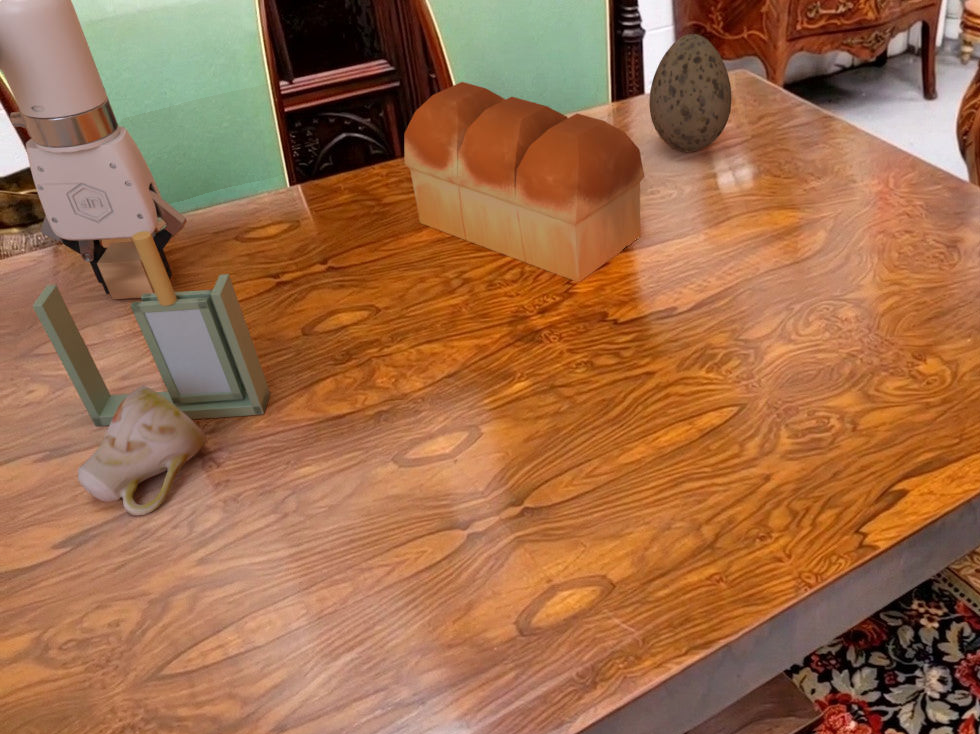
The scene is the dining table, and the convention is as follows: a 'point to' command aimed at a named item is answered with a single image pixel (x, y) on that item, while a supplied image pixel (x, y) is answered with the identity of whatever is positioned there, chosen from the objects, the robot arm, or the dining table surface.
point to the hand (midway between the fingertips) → (138, 284)
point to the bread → (524, 179)
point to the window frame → (105, 405)
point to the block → (124, 271)
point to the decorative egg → (690, 94)
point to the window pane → (183, 337)
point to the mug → (141, 450)
